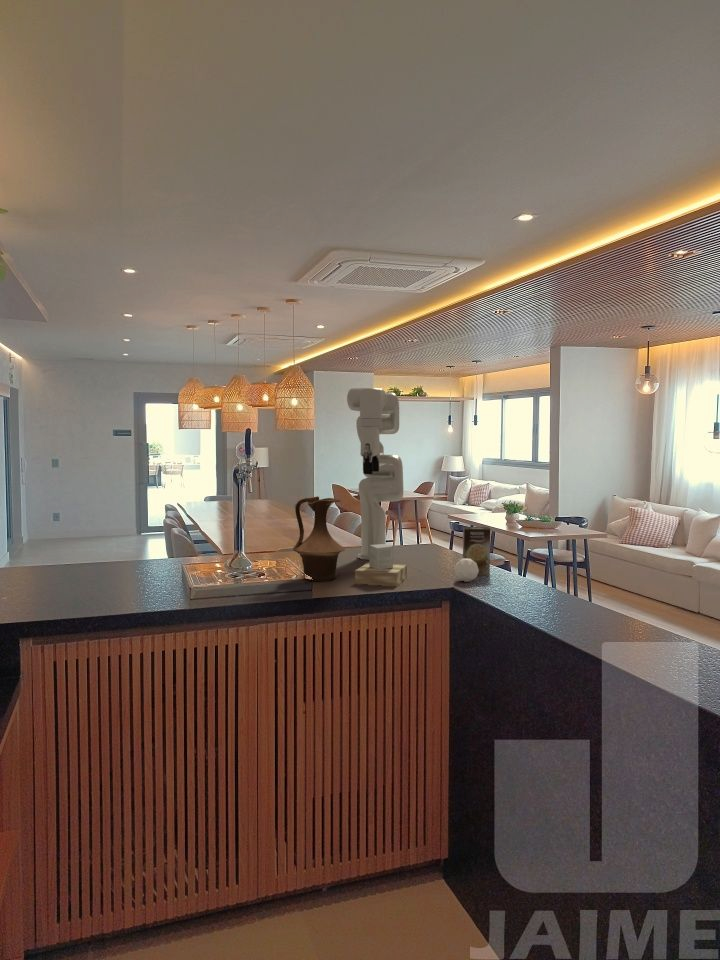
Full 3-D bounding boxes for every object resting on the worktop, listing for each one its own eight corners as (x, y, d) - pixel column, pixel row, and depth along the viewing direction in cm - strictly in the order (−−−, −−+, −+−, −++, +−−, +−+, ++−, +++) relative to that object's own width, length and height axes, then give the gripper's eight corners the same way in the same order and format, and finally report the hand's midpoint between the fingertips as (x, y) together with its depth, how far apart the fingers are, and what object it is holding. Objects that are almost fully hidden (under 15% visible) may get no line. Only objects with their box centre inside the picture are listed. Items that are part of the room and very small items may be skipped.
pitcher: (296, 585, 222) (295, 499, 220) (290, 574, 239) (289, 494, 237) (349, 582, 226) (348, 497, 224) (340, 572, 242) (339, 493, 240)
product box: (385, 564, 231) (385, 543, 231) (393, 568, 226) (393, 546, 225) (368, 566, 229) (368, 544, 228) (376, 570, 223) (376, 547, 223)
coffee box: (463, 575, 235) (463, 528, 234) (462, 571, 241) (462, 526, 240) (490, 575, 234) (490, 529, 233) (488, 571, 240) (488, 526, 239)
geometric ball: (473, 589, 225) (485, 572, 221) (452, 582, 223) (464, 565, 219) (468, 574, 231) (480, 557, 228) (447, 567, 229) (460, 550, 225)
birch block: (367, 577, 236) (367, 562, 236) (406, 579, 232) (406, 564, 232) (355, 585, 223) (354, 570, 222) (396, 588, 219) (396, 573, 218)
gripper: (366, 423, 247) (366, 470, 249) (354, 424, 230) (354, 475, 232) (386, 423, 245) (386, 470, 247) (375, 424, 228) (376, 475, 230)
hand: (371, 472), depth 239 cm, fingers open, 9 cm apart
